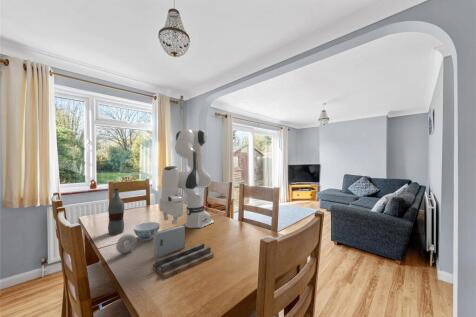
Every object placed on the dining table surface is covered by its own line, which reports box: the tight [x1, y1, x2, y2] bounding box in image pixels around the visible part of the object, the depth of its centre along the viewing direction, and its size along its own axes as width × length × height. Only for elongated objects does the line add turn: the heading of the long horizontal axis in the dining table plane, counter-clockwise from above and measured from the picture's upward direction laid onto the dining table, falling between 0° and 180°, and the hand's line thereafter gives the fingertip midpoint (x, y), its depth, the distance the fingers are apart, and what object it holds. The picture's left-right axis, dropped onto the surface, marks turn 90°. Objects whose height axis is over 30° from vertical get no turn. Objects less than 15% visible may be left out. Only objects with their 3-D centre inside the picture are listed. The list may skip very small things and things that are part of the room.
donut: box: [115, 233, 138, 255], centre depth 104 cm, size 10×4×10 cm, turn 142°
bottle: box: [107, 187, 125, 236], centre depth 132 cm, size 9×9×30 cm
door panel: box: [154, 225, 186, 258], centre depth 106 cm, size 16×3×12 cm, turn 136°
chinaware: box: [133, 221, 161, 241], centre depth 123 cm, size 15×15×8 cm
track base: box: [152, 242, 214, 279], centre depth 95 cm, size 26×12×4 cm, turn 136°
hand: (170, 222), depth 105 cm, fingers open, 8 cm apart
